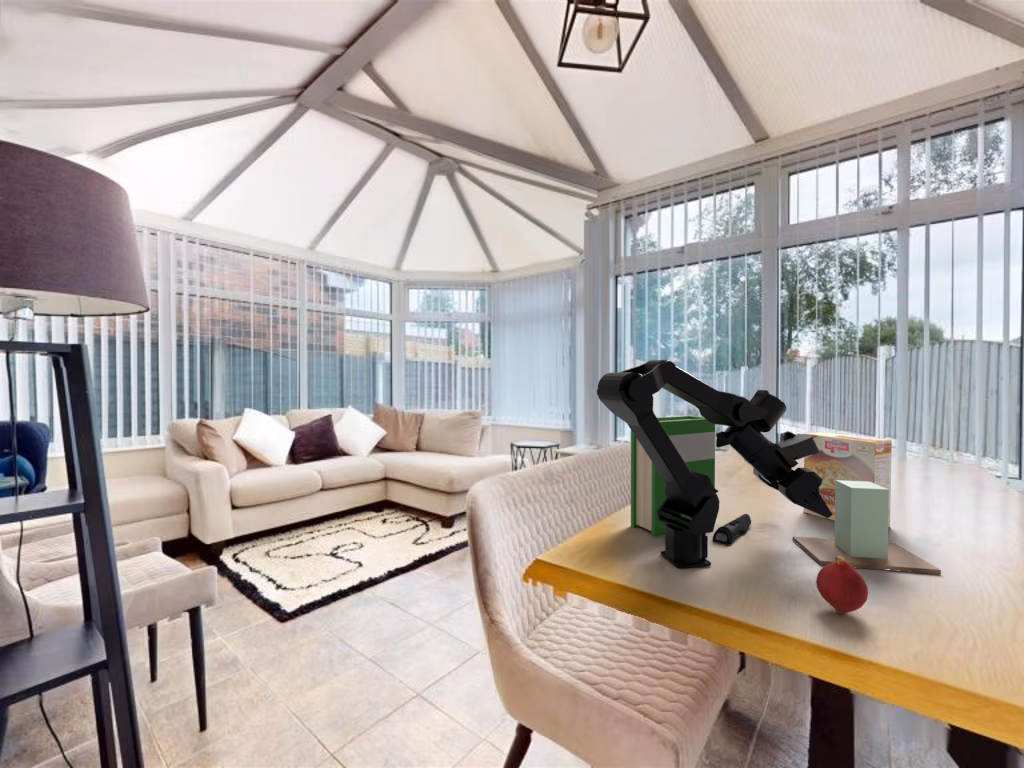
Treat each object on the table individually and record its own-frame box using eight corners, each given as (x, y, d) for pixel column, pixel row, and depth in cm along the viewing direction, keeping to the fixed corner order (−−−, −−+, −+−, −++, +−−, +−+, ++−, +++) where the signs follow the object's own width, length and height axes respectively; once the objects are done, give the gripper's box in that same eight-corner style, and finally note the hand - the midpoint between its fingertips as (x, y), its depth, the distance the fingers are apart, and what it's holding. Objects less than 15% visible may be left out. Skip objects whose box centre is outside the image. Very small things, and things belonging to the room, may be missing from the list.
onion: (845, 601, 65) (845, 548, 65) (878, 623, 60) (879, 565, 59) (807, 602, 65) (807, 549, 65) (837, 624, 59) (837, 566, 59)
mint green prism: (850, 556, 80) (851, 487, 79) (834, 544, 85) (835, 480, 85) (887, 559, 78) (888, 489, 78) (868, 546, 84) (869, 481, 84)
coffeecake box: (802, 512, 107) (802, 432, 107) (819, 508, 110) (820, 431, 110) (873, 532, 94) (874, 441, 93) (891, 527, 97) (893, 439, 96)
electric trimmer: (756, 529, 97) (756, 514, 97) (730, 547, 87) (730, 531, 87) (738, 525, 100) (738, 511, 100) (710, 542, 89) (710, 526, 89)
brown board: (820, 565, 78) (820, 541, 78) (792, 540, 89) (792, 519, 89) (940, 574, 74) (941, 549, 74) (895, 547, 86) (895, 525, 86)
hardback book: (654, 537, 91) (655, 422, 91) (630, 526, 98) (631, 419, 98) (714, 524, 99) (715, 418, 98) (688, 515, 106) (689, 415, 105)
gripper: (809, 424, 75) (883, 493, 72) (770, 415, 93) (828, 469, 91) (758, 468, 76) (829, 536, 74) (729, 450, 95) (785, 505, 93)
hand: (818, 508), depth 83 cm, fingers open, 9 cm apart
